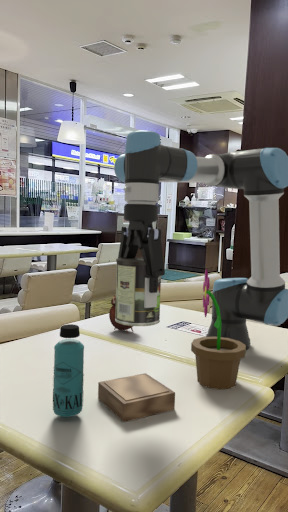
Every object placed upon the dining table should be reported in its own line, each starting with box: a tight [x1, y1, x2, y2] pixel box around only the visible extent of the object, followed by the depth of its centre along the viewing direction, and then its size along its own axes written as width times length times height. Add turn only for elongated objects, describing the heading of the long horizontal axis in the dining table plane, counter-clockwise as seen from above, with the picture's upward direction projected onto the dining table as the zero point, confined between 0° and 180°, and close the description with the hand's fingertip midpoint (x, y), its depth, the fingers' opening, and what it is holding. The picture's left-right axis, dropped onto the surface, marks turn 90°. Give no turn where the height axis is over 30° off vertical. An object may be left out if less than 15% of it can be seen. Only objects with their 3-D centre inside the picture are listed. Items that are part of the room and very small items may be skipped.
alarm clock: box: [108, 294, 134, 333], centre depth 159 cm, size 11×5×15 cm, turn 58°
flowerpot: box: [190, 268, 247, 390], centre depth 112 cm, size 14×14×30 cm
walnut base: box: [97, 372, 176, 423], centre depth 98 cm, size 13×13×4 cm
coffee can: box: [115, 256, 162, 327], centre depth 96 cm, size 10×10×14 cm
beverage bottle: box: [51, 324, 85, 418], centre depth 90 cm, size 6×7×20 cm
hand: (138, 302), depth 96 cm, fingers closed on coffee can, 10 cm apart
